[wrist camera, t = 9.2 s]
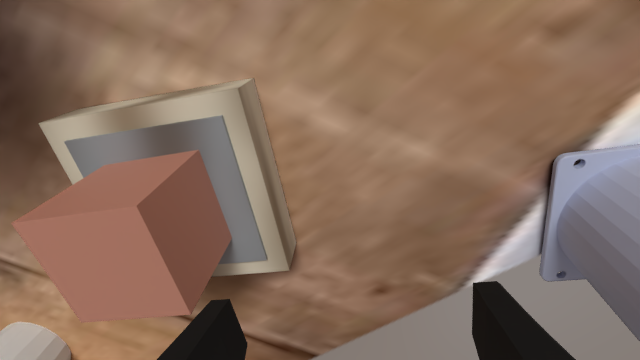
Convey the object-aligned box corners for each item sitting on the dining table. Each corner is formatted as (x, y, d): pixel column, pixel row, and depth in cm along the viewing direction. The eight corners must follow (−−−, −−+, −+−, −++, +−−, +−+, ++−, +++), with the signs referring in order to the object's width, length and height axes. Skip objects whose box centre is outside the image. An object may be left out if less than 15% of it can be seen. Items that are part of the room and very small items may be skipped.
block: (198, 149, 16) (136, 205, 11) (232, 237, 18) (190, 314, 13) (104, 164, 16) (11, 222, 12) (147, 247, 19) (81, 322, 14)
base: (253, 77, 17) (236, 89, 14) (296, 242, 21) (288, 273, 18) (77, 109, 18) (34, 124, 16) (150, 256, 22) (126, 285, 20)
